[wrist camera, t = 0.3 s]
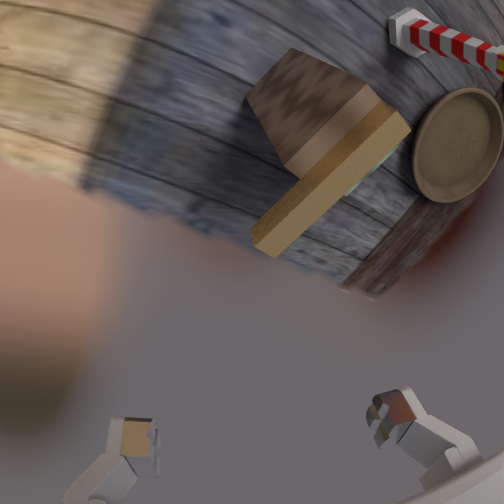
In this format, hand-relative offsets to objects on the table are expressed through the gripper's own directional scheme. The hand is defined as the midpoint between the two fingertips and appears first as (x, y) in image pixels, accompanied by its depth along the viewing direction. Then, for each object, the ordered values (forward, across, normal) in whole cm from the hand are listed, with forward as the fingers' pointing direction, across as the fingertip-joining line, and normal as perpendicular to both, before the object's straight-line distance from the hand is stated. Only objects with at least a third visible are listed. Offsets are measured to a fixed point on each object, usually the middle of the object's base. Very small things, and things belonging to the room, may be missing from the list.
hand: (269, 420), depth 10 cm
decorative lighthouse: (+47, -35, -28) cm, 65 cm away
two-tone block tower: (+51, -16, -10) cm, 55 cm away
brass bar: (+25, -10, -3) cm, 27 cm away
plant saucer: (+54, -55, -7) cm, 78 cm away
